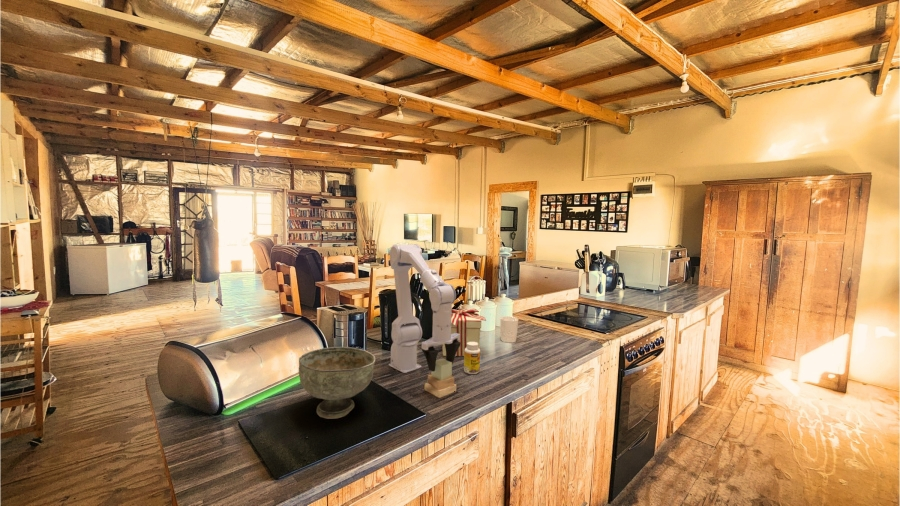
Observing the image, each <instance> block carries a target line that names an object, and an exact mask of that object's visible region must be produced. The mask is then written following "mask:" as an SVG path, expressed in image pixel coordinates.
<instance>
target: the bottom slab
mask: <svg viewBox="0 0 900 506" xmlns="http://www.w3.org/2000/svg"><path fill="white" fill-rule="evenodd" d="M424 391H426V392H427V393H430V394H431V395H433V396H435V397H437V398H439V399H440V398H443V397H445V396H448V395H450V394H453V393H455V392H457V384H456V383H454V386H451V387H447V388H444V389H440V390H437V389H436V388H434V387H433V386H432V385H430V384H429V383H428V382H426V383H424ZM454 391H455V392H454Z"/></svg>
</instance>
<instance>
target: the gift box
mask: <svg viewBox="0 0 900 506" xmlns="http://www.w3.org/2000/svg"><path fill="white" fill-rule="evenodd" d="M479 313H480V311H479V310H478V309H477V308H471V309H467V308H466V309H461V310H460V309H459V310H458V309H453V308H452V313H451V334H453V333H457V334H460V340H458V342H460V347H459V348H458V350H457V352H456V355H455V357H456V356H464V351H465V348H466V347H467V343H468V342H477V343H478V348H479V349H480V343H481V342H480V341H481V340H480V339H481V329H482V321H485V322H486V321H487V319H486V317H485V316H481V315H480V314H479ZM441 347H442V357H446V348H445V344H442V345H441Z"/></svg>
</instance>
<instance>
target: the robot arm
mask: <svg viewBox="0 0 900 506" xmlns="http://www.w3.org/2000/svg"><path fill="white" fill-rule="evenodd" d="M389 263H390V269H392V270H393V278H394V286H395V295H396V297H395V298H396V306H397V315H398V316H397V317H396V318H395V319H394V320H393V322H392V323H391V333H390V334H391V340H392V344H391V347H390V363H388V366H389V367H392V368H393V369H395V370H397V371H399V372H401V373H403V374H406V373H409V372H412V371H415V370H418V369H421V368H422V365H420V364H419V363H417V353H418V352H417V349H418V346H417V344H419V341H420V340H422V336H423V329H422V325H421V322H420V319H419V318H418V317H416V316H415V315H414V314H413V313H414V312H413V304H412V296H411V295H412V294H411V285H410V275H409V271H410V269H412V268H414V269H415V271H417V272H418V273H419V275H420V281H421V283H422V284H423V286H424V288H426V291H428V293H429V295H428V296H429V302H430V304H431V305H430V306H431V310H432V334H431V335H432V337H430V338H429V339H427V340H425V341H422V342H421V351H422V353H423V356H424V357H425V359H426V363H427V367H428V370H429V371H430V372H431V371H435V367H436V360H437V357H438V354H439V350H436V348H435V347H439V346H442V344H445V348H446V356H445V360H447V361H450V362H452V365H453V364H454V362H455V357H456V356H455V355H456V352H457V350H458V348H459V347H460V342H458V340H460V334H457V333H453V334H451V313H452V309H453V308H452V307H453V306H452V305H453V303H455V301H456V298H457V293H456V289H455V288H454V285H453V284H449V283H447V282H445V281H444V279H442V277H441V276H440V274H439V273H438V272H437V270H436V269H434V268H431V269H430V266H429V265H428V263H427V262H426V260H425V259H424V257H423V250H422V248H421V246H420V245H419V244H417V243H414V244H393V245H392V246H391V248H390V250H389Z"/></svg>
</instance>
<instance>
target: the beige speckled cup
mask: <svg viewBox="0 0 900 506" xmlns="http://www.w3.org/2000/svg"><path fill="white" fill-rule="evenodd" d="M499 319H500V324H499V326H500V327H499V328H500V341H502V342H503V343H509V344H511V343H516V342H517V336H518V329H519V328H518V327H519V318H518V317H515V316H507V315H506V316H500V318H499Z"/></svg>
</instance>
